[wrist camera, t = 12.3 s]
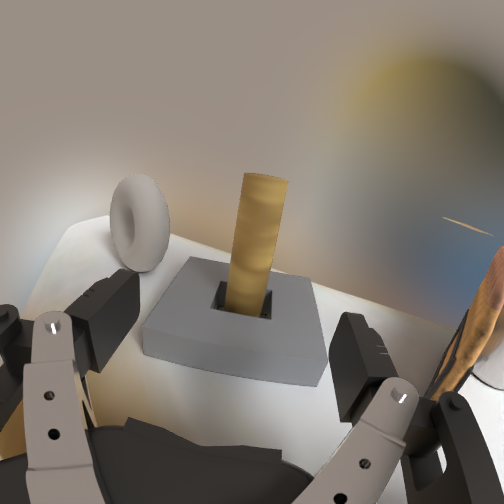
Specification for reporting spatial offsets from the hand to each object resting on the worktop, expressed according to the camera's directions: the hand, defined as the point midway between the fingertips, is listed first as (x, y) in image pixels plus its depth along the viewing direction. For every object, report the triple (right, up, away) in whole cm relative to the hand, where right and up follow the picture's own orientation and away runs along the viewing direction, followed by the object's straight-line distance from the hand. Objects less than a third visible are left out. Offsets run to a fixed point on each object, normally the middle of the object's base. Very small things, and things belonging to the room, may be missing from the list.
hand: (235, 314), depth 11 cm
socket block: (0, -4, +13) cm, 13 cm away
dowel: (0, -4, +13) cm, 13 cm away
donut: (-12, 0, +18) cm, 22 cm away
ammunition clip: (+17, -9, +8) cm, 21 cm away
